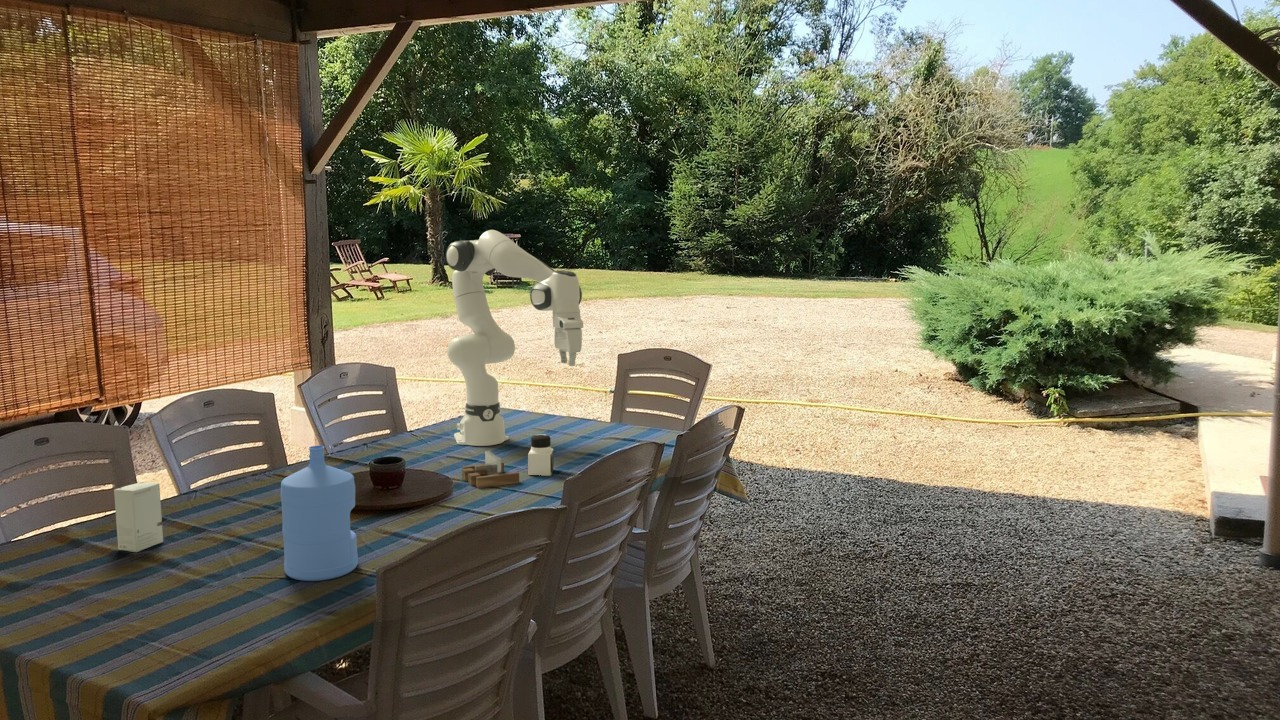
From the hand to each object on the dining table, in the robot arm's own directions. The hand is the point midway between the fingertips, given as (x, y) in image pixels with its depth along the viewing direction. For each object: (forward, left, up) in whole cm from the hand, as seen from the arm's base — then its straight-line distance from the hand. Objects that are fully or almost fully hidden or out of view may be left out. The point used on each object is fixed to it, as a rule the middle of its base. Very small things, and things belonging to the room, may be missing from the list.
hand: (567, 364), depth 293 cm
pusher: (+7, -30, -32) cm, 45 cm away
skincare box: (+26, -122, -33) cm, 129 cm away
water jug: (+61, -86, -33) cm, 111 cm away
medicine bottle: (+7, -12, -33) cm, 36 cm away
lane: (+7, -29, -33) cm, 44 cm away
